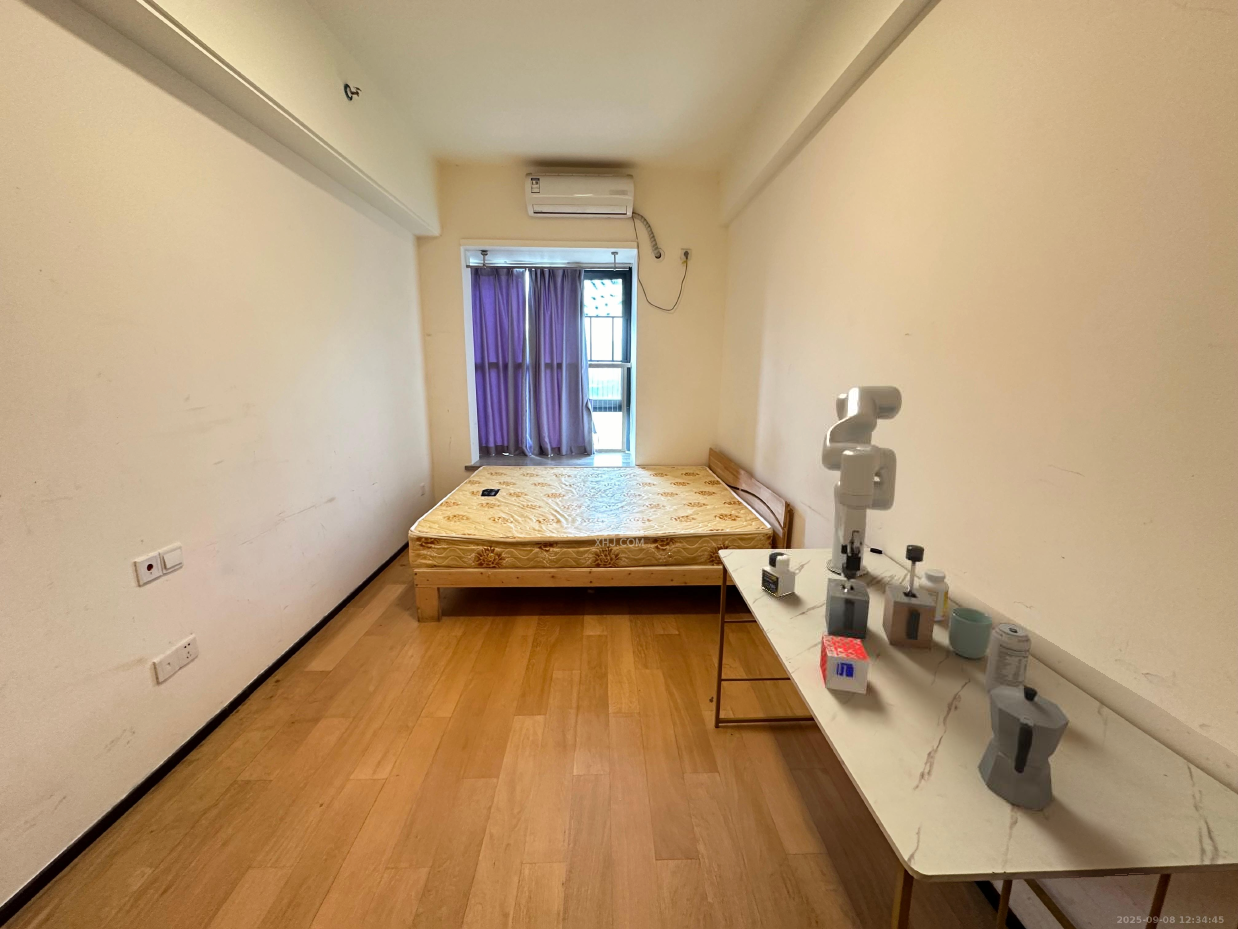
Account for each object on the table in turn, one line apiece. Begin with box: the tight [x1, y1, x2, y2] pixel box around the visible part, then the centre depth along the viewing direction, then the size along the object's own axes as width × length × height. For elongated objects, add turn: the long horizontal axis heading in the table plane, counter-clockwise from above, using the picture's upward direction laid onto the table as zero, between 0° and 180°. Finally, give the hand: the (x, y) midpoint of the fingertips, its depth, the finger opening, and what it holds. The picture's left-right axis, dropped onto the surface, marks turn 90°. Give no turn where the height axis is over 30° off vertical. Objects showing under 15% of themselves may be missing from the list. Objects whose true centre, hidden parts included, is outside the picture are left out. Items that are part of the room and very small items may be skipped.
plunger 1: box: [840, 562, 858, 590], centre depth 117 cm, size 6×6×16 cm
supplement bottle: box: [918, 568, 950, 622], centre depth 123 cm, size 7×7×13 cm
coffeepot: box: [977, 684, 1070, 811], centre depth 71 cm, size 15×9×18 cm, turn 137°
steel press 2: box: [881, 584, 936, 651], centre depth 113 cm, size 10×9×12 cm
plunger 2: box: [905, 544, 925, 598], centre depth 111 cm, size 6×6×16 cm
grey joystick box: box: [824, 577, 871, 641], centre depth 118 cm, size 10×9×12 cm
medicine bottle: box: [761, 551, 797, 597], centre depth 140 cm, size 7×7×12 cm
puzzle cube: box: [819, 634, 870, 695], centre depth 100 cm, size 8×8×8 cm
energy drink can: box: [984, 622, 1032, 693], centre depth 93 cm, size 6×6×15 cm
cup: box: [947, 606, 994, 659], centre depth 107 cm, size 8×8×10 cm
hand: (849, 561), depth 116 cm, fingers open, 9 cm apart
